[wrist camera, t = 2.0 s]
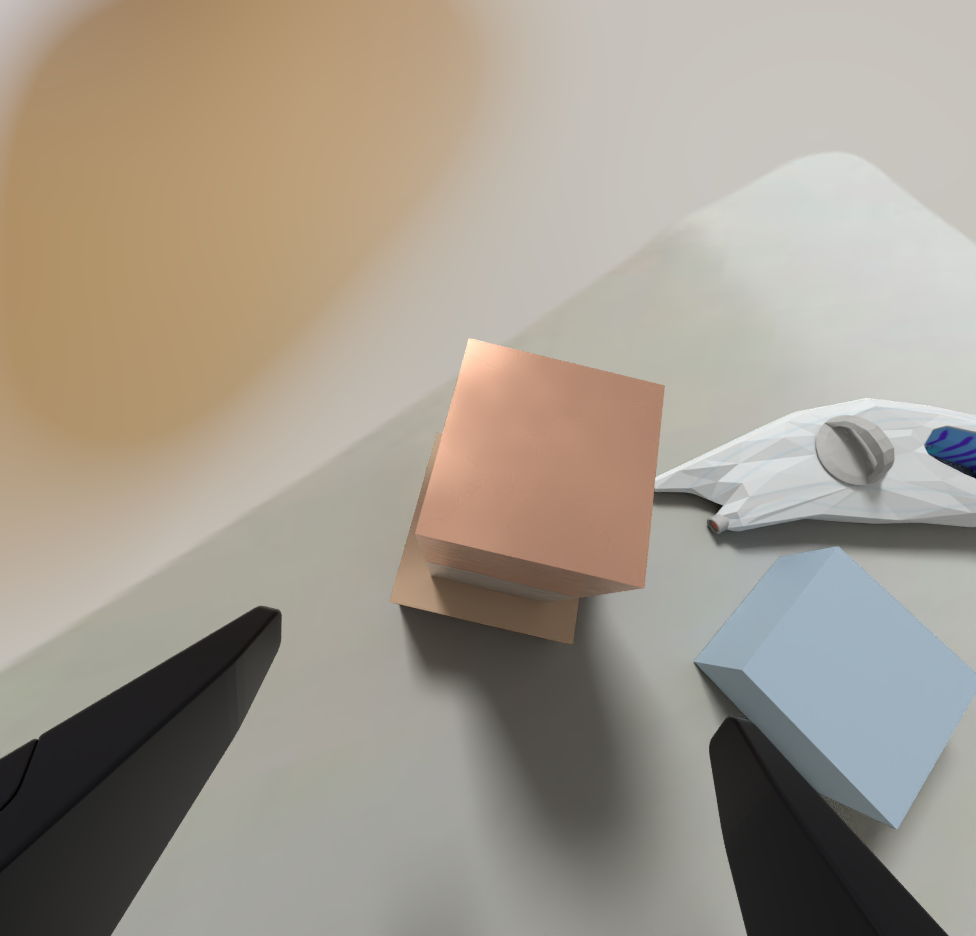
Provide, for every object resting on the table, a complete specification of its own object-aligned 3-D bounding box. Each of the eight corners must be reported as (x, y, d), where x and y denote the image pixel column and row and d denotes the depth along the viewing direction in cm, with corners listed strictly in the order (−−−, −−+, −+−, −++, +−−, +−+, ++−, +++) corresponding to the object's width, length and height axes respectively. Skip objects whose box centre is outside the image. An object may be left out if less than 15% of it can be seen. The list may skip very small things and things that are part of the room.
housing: (546, 602, 17) (644, 587, 9) (430, 575, 17) (414, 533, 8) (564, 492, 19) (664, 385, 10) (458, 466, 18) (469, 338, 10)
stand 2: (818, 792, 19) (897, 829, 16) (693, 661, 20) (741, 670, 17) (898, 669, 21) (983, 679, 18) (779, 556, 22) (838, 546, 19)
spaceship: (1007, 415, 26) (1114, 379, 22) (1054, 526, 25) (1180, 509, 20) (626, 416, 24) (664, 376, 20) (644, 538, 22) (690, 522, 18)
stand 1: (552, 640, 20) (572, 644, 17) (399, 604, 20) (389, 601, 17) (575, 493, 22) (598, 471, 19) (438, 460, 22) (437, 432, 19)
